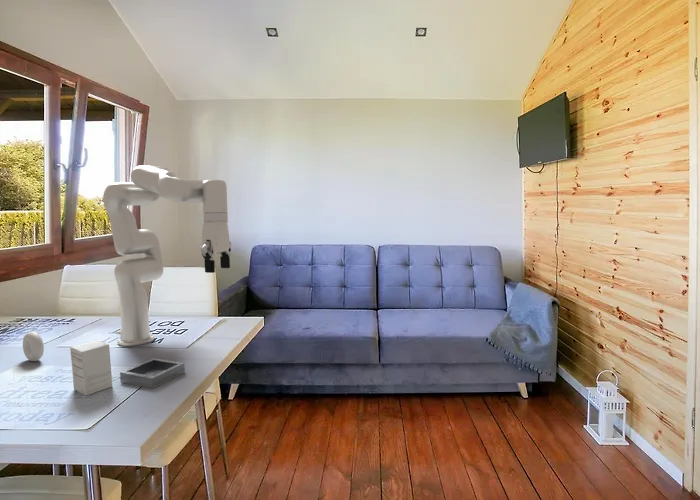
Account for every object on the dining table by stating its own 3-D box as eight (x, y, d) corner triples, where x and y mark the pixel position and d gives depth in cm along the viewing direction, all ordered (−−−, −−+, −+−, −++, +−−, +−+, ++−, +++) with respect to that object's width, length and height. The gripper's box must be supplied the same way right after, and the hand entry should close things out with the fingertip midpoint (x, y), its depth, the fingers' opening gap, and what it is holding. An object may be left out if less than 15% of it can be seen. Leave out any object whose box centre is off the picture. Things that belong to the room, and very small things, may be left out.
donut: (47, 362, 142) (44, 332, 141) (35, 365, 139) (32, 335, 138) (33, 356, 147) (31, 328, 146) (22, 359, 144) (19, 330, 143)
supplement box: (100, 380, 126) (97, 339, 125) (113, 386, 122) (110, 343, 120) (72, 390, 120) (69, 346, 119) (85, 396, 116) (81, 351, 114)
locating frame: (120, 382, 125) (120, 372, 124) (154, 367, 136) (153, 358, 136) (152, 388, 120) (152, 378, 120) (184, 372, 132) (184, 363, 131)
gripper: (219, 217, 148) (221, 266, 150) (190, 219, 131) (192, 274, 133) (238, 217, 146) (240, 266, 148) (212, 219, 129) (214, 274, 131)
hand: (217, 270), depth 140 cm, fingers open, 9 cm apart
